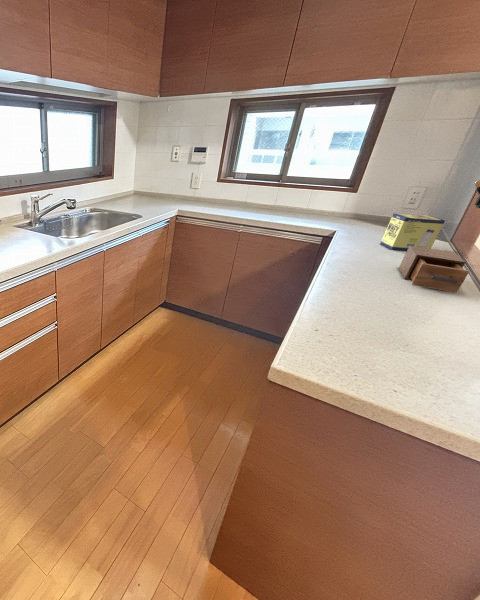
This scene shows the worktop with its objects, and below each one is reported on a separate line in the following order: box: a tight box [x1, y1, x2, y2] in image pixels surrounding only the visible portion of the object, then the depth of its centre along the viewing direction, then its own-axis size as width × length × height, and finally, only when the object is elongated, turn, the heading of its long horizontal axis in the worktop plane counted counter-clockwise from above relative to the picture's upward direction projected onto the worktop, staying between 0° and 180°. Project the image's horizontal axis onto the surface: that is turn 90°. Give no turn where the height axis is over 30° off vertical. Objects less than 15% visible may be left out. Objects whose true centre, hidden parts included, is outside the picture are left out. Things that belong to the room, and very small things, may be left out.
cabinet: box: [398, 246, 466, 281], centre depth 122 cm, size 15×13×10 cm
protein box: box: [380, 213, 446, 252], centre depth 155 cm, size 10×16×16 cm
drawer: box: [410, 257, 470, 294], centre depth 114 cm, size 18×11×8 cm, turn 145°
